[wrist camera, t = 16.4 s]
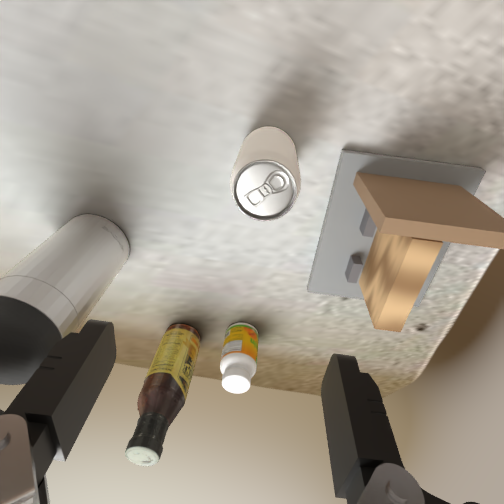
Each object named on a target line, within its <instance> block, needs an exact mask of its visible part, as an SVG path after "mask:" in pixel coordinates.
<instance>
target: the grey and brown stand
mask: <svg viewBox="0 0 504 504" xmlns="http://www.w3.org/2000/svg"><path fill="white" fill-rule="evenodd" d="M485 172H486V171H485V170H483V169H482V168H479V167H471V166H464V165H456V164H449V163H441V162H434V161H426V160H418V159H411V158H403V157H396V156H388V155H381V154H373V153H365V152H358V151H350V150H343V149H342V151H341V155H340V159H339V163H338V167H337V171H336V175H335V179H334V183H333V187H332V191H331V195H330V199H329V203H328V207H327V211H326V215H325V219H324V222H323V226H322V230H321V234H320V238H319V242H318V246H317V250H316V254H315V258H314V262H313V266H312V270H311V274H310V278H309V282H308V286H307V290H308V292H310V293H317V294H325V295H333V296H340V297H348V298H356V299H363V300H365V299H364V297H363V294H362V291H361V288H360V285H359V279H360V276H361V273H362V271H363V268H364V265H365V262H366V259H367V256H368V253H369V251H370V248H371V245H372V242H373V239H374V236H375V234H376V231H377V229H378V230H379V232H380V233H384V234H392V235H400V236H407V237H415V238H422V239H430V240H438V241H442V242H443V245H442V247H441V249H440V251H439V253H438V255H437V257H436V259H435V261H434V263H433V265H432V268H431V270H430V272H429V274H428V276H427V278H426V280H425V282H424V284H423V286H422V288H421V290H420V292H419V294H418V297H417V299H416V301H415V303H414V305H413V306H417V307H419V305H420V303H421V301H422V299H423V297H424V295H425V293H426V291H427V289H428V287H429V285H430V283H431V281H432V279H433V277H434V275H435V273H436V271H437V269H438V267H439V265H440V263H441V261H442V258H443V256H444V254H445V252H446V250H447V248H448V246H449V244H450V242H453V243H460V244H468V245H476V246H483V247H491V248H498V249H504V218H503V217H501V216H500V215H499V214H497V213H496V212H495V211H493V210H492V209H491V208H489V207H488V206H487V205H485V204H484V203H483V202H481V201H480V200H479V199H477V198H476V197H475V196H474V194H475V192H476V190H477V188H478V186H479V184H480V182H481V180H482V178H483V176H484V174H485Z"/></svg>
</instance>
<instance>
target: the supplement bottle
mask: <svg viewBox="0 0 504 504" xmlns="http://www.w3.org/2000/svg"><path fill="white" fill-rule="evenodd" d="M258 337H259V336H258V332H257V330H256V329H255V327H253V326H252V325H250V324H247V323H235V324H233V325H231V326H230V327H229V328H228V329H227V331H226V334H225V339H224V345H223V351H222V356H221V362H220V370H221V372H222V374H223V378H222V386H223V387H224V389H225V390H227V391H229V392H231V393H243V392H246V391H247V390H248V389H249V388H250V383H251V378H252V377H253V376H254V374H255V372H256V367H257V352H258Z"/></svg>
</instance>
